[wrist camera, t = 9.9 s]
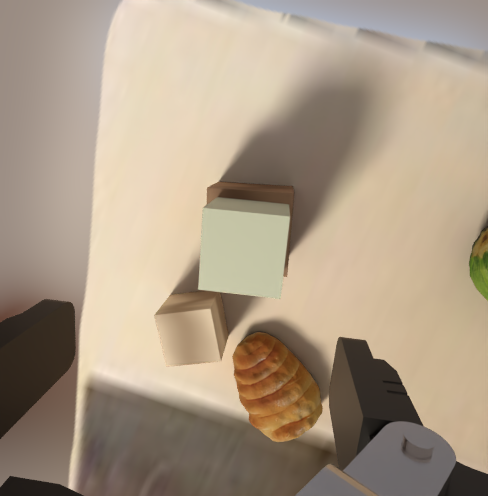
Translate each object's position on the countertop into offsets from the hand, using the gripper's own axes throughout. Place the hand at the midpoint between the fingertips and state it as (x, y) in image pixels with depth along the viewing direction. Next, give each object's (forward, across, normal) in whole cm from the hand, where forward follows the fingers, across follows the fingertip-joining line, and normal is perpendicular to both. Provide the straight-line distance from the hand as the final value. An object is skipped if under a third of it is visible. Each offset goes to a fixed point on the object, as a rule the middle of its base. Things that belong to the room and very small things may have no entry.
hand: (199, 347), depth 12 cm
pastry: (+22, -3, +15) cm, 27 cm away
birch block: (+22, +4, +9) cm, 24 cm away
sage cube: (+17, 0, 0) cm, 17 cm away
